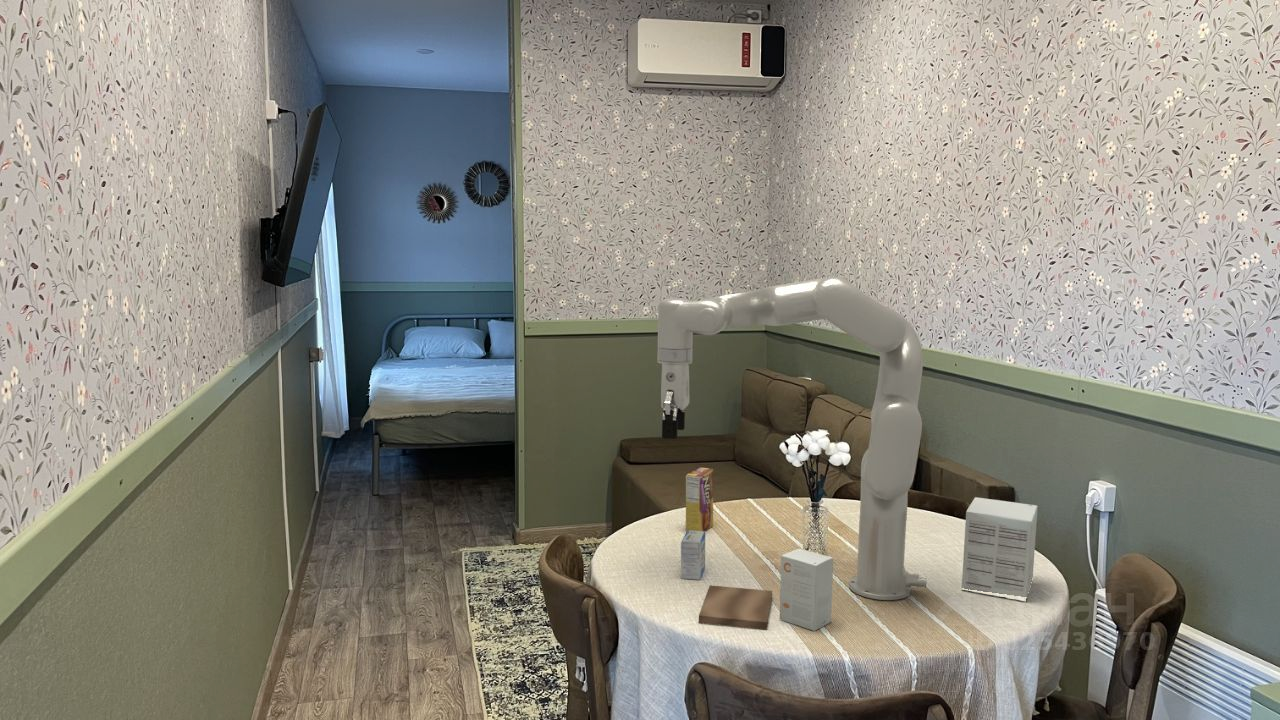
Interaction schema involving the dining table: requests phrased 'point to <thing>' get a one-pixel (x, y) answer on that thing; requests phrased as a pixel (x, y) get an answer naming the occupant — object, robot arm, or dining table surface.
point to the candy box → (699, 500)
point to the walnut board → (736, 607)
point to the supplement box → (999, 547)
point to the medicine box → (693, 555)
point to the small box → (806, 589)
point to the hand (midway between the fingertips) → (673, 433)
